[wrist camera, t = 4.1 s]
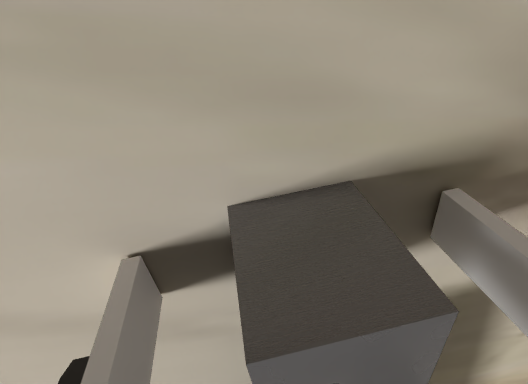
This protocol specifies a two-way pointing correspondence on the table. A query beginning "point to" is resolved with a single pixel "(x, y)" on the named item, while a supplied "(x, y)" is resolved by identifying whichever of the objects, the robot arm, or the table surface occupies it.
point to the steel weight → (332, 293)
